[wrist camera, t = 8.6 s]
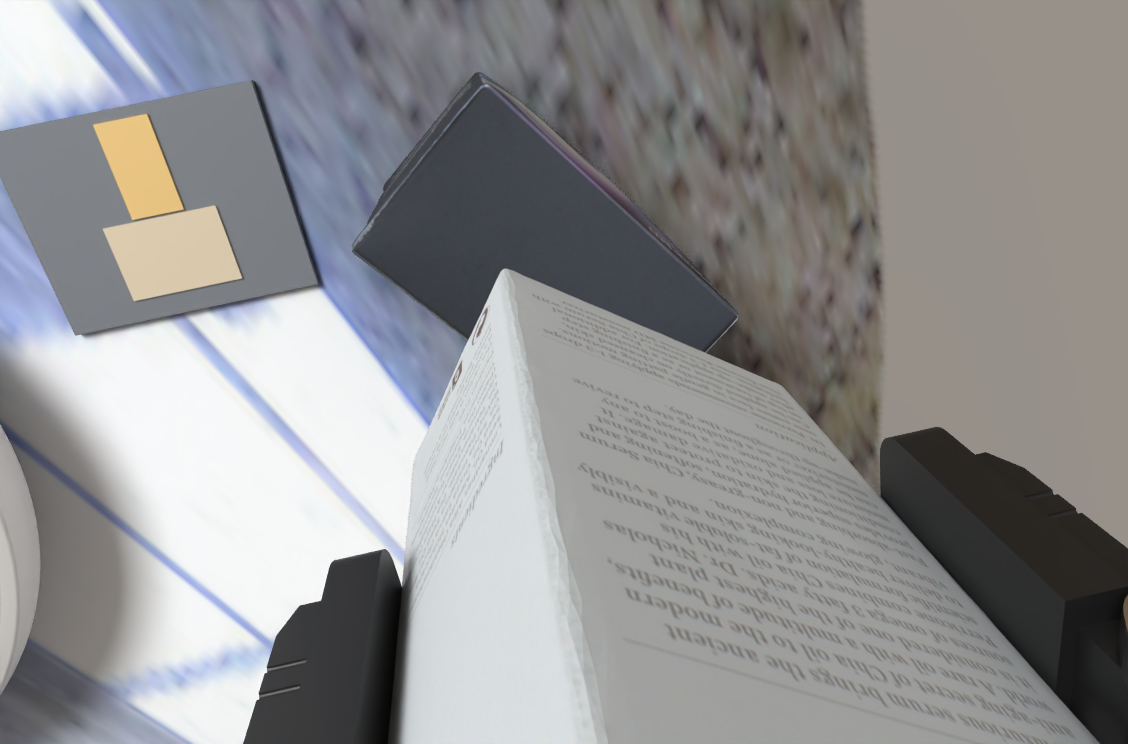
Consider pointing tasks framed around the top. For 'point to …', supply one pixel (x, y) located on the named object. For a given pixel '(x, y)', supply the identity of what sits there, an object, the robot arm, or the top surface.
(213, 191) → the card
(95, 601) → the top surface
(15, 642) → the bowl
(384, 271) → the small box
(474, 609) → the skincare box
